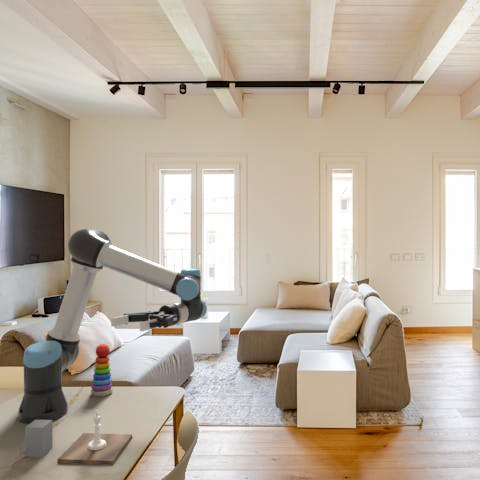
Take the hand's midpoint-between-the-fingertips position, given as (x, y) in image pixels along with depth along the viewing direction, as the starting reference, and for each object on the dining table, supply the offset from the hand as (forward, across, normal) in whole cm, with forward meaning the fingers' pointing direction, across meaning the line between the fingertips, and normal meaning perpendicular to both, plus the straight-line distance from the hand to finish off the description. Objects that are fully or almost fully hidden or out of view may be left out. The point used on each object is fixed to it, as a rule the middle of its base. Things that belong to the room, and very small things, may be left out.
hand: (125, 324), depth 133 cm
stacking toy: (-14, +30, -32) cm, 46 cm away
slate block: (+25, +7, -32) cm, 41 cm away
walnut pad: (+15, -5, -32) cm, 36 cm away
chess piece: (+15, -5, -31) cm, 35 cm away
